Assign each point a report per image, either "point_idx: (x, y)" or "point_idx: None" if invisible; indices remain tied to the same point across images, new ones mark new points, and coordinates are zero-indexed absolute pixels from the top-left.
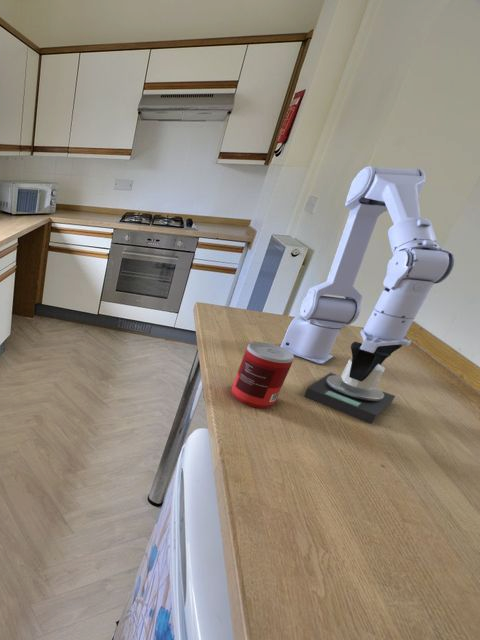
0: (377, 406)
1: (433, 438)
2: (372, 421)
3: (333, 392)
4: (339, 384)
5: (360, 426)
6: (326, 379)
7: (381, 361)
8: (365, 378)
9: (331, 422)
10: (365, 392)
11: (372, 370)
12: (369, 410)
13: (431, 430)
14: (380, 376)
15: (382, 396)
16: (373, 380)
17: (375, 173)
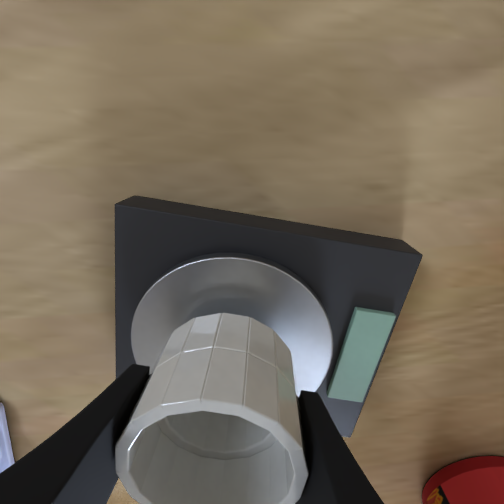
0: (320, 256)
1: (353, 33)
2: (406, 243)
3: None
4: None
5: (453, 265)
6: None
7: (98, 442)
8: (324, 407)
9: (489, 333)
10: (265, 317)
11: (325, 456)
12: (392, 277)
13: (268, 43)
14: (245, 367)
15: (246, 262)
16: (280, 366)
17: None
